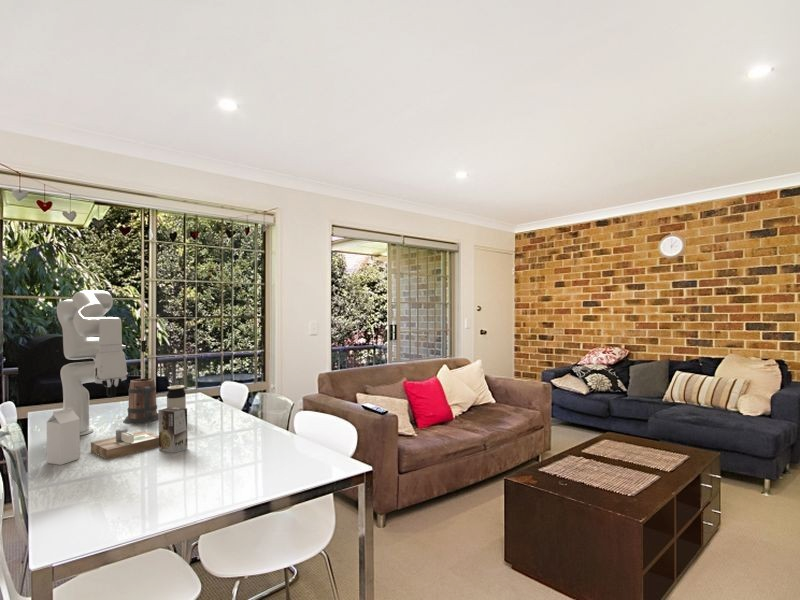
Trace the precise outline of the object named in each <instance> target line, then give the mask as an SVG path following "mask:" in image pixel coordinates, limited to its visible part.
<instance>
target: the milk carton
mask: <svg viewBox="0 0 800 600" xmlns="http://www.w3.org/2000/svg"><path fill="white" fill-rule="evenodd" d="M80 440H81V438H80V424H79V418H78V416H77V415H76V414H75V412H74V411H73V408H68V409H64V410H63V409H61V410H60V409H59V410H55V411H53V412H52V416H51V417H50V418H49V419H48V420H47V421H46V463H47V464H52V465H58V466H59V465H60V466H61V465H62V466H63V465H65V464H68V463H70V462H74V461H76V460H80V458H81V456H80V455H81V454H80V453H81V450H80V449H81V448H80V447H81V446H80V445H81V444H80V442H81V441H80Z"/></svg>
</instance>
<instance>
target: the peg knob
mask: <svg viewBox="0 0 800 600" xmlns="http://www.w3.org/2000/svg"><path fill="white" fill-rule="evenodd" d="M128 430H129V429H128V428H119V429H116V430H115V437H116V441H117V442H120V441H124V442H127V443H133V442H134V434H131V433H132V432H129V431H128Z"/></svg>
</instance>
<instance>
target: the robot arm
mask: <svg viewBox="0 0 800 600" xmlns="http://www.w3.org/2000/svg"><path fill="white" fill-rule="evenodd" d="M113 299H114V298H113V296H112V294H111V293H110V292H109V291H105V290H81V291H77V292H75V293H74V295H72V299H65V300H61V301H60V302H59V301H58V303H57V306H56V315H57V318H58V319H57V320H58V322H59V323H60V326H61V329H62V345H63V348H62V349H63V355H64V357H65V359H67V360H73V361H75V360H86V359H89V360H90V359H93V361H92V360H91V361H81V362H78V361H77V362H71V363H67V364H64V365H63V366H62V367H61V369H60V379H61V385H62V398H63V399H62V400H63V401H62V402H63V403H62V405H63V406H62V407H63V409H62V410H64V409H68V408H73V411H74V412H75V414H76V415H77V416H78V418H79V424H80V436H85V435H88V434H91V433H93V432H94V431H95V430H94V429H95V428H94V427H92V426H90V392H89V390H88V389H87V388H86V387H85V386H83V384H86V383H87V384H88V383H95V384H101V385H103V386H104V387H105V391H106V396H107V398H116V395H117V392H118V391H117V387H118V386H119V384H120V383H121V382H123V381H125V380H127V379H128V376H127V374H128V373H127V372H128V369H127V359H126V355H125V352H124V351H123V350H125V349H126V345H124V344H123V342H122V341H123V337H122V335H123V334H122V333H123V332H122V331H123V330H122V329H123V328H122V326H123V325H122V319H121V318H120V317H113V316H107V317H106V316H105V315H106V314H107V313H108V312H109V311H110V310H111V309H112V307H113V304H114V300H113Z"/></svg>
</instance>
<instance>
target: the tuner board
mask: <svg viewBox="0 0 800 600" xmlns="http://www.w3.org/2000/svg"><path fill="white" fill-rule="evenodd" d="M130 433H131V434H134V442H133V443H127V442H124V441H120V442H117V441H116V436H115V437H109V438H103V439H100V440H99V439H98V440H95V441H92V442H90V452H92V453H94V454H96V453H97V454H96V455H98V454H99V455H98V456H100V455H101V456H100V457H102V456H103V457H102V458H104V457H105V458H104V459H106V458H107V459H106V460H110V459H115V458H118V457H121V456H122V457H123V456H127V455H130V454H134V453H138V452H143V451H146V450H151V449H154V448H159V434H155V433H152V432H149V431H146V430H140V431H136V432H130Z"/></svg>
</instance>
